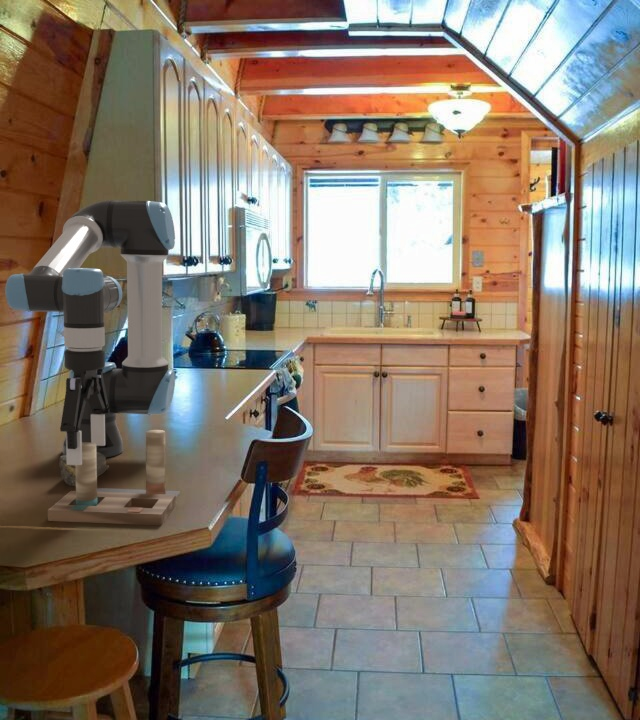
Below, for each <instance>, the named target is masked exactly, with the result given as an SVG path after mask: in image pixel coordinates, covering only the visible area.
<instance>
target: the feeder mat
mask: <svg viewBox="0 0 640 720" xmlns="http://www.w3.org/2000/svg"><path fill="white" fill-rule="evenodd" d="M97 492H115V493H141V494H146V489H137V488H133V489H131V488H111V487H110V488H108V487H107V488H106V487H105V488H104V487H97ZM181 492H182V491H181V490H165V494H168V495H176V498H177V497H178V496H179V495H180V493H181Z"/></svg>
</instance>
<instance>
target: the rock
mask: <svg viewBox="0 0 640 720" xmlns="http://www.w3.org/2000/svg"><path fill="white" fill-rule="evenodd" d="M96 456H97V478H98V477H99V476H101V475H103V474H104V473H105V472H106V471H107V470H108V469H109V467H110V466H109V464H107V457H106V458H105V456H104V455H103V454H101V453H99V452H96ZM58 460H59V468H60V476H61V478H62V479H63V481H64V483H65V484H66V485H68V486H71V487H75V488H76V467H75V465H67V456H66V455H61V456H59V459H58Z"/></svg>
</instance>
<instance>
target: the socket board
mask: <svg viewBox="0 0 640 720" xmlns="http://www.w3.org/2000/svg"><path fill="white" fill-rule="evenodd" d="M176 505H177V497H176V495H168V494H141V493H115V492H97V506H86V505H76V490H70V491H68V493H66V494H65V495H64V496H62V497H61V498H60V499H59V500H58V501H57V502H55V504H53V505H51V507H49V508H48V509H47V521H49V522H67V523H68V522H70V523H94V524H97V523H98V524H119V525H120V524H121V525H123V524H124V525H142V526H143V525H146V526H148V525H149V526H162V525H163V524H164V523H165V521H166V520H167V518H168V517H169V515H170V514H171V512H172V511H173V510H174V509H175V507H176Z"/></svg>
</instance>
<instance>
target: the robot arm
mask: <svg viewBox="0 0 640 720" xmlns="http://www.w3.org/2000/svg"><path fill="white" fill-rule="evenodd" d="M175 232H176V231H175V225H174V220H173V216H172V212H171V209H170V208H169V206H168V205H167V204H166V203H164V202H160V201H152V200H151V201H150V200H113V199H111V200H109V199H108V200H106V199H105V200H101V201H98V202H97V201H96V202H94V203H93V202H92V203H91V204H89V205H87V206H84V207H82V208H81V209H79V210H78V211H76V212H75V213H73V214H72V215H71V216H70V217H69V218H68V219H67V220H66V222H65V223H64V224H63V227H62V234H61V235H60V236H59V237H58V238H57V239H56V241H55V242H54V243H53V244H52V245H51V247H50V248H49V249H48V250H47V252H46V253H45V254H44V255H43V256H42V257H41V258H40V260H39V261H38V262H37V263H36V264H35V265H34V267H33V268H32V270H30V272H29V273H27V274H26V273H19V274H18V273H16V274H15V273H14V274H11V275H10V276H8V278H7V280H6V284H5V292H4V293H5V299H6V302H7V304H8V306H9V308H10V309H12V310H15V311H24V312H28V313H30V312H42V313H43V312H46V313H47V312H48V313H49V312H51V313H53V312H54V313H63V330H62V331H61V335H62V336H63V337H64V338H63V339H64V340H63V341H64V343H63V344H64V347H65V348H66V349H65V350H64V353H63V355H64V356H63V357H64V368H65V369H66V370H67V371H69V372H68V378H66V380H65V381H66V382H65V395H64V401H63V409H62V415H61V421H60V428H59V431H60V432H62V433H63V432H65V437H64V440H63V443H62V454H63V455H62V456H64V455H66V456H67V465H82V443H84V442H91V443H96V452H99V453H101V454H103V455H104V456H105V458H106V459H107V458H110V457H114V456H118V455H121V453H123V452H124V443H123V442H124V441H123V439H122V435H121V433H120V429H119V427H118V425H117V414H121V415H124V414H125V415H127V414H129V415H148V416H151V415H163V414H166V413H167V412H168V411H169V410H170V407H171V404H172V401H173V398H174V393H175V386H176V372H175V371H174V370H173V369H171V368H170V369H169V361H168V360H167V359H166V358H165V357H163V262H164V261H165V260H166V259H167V258H168V257H169V250H173V249H174V248H175V244H176V243H175V242H176V241H175V239H176V233H175ZM100 248H115V249H116V248H119V249H120V257H122V258H123V259H124V260H125V261H126V284H127V285H126V287H127V288H126V289H127V290H126V292H127V294H126V295H127V301H126V302H127V306H126V307H127V357H125V359H124V360H123V361H122V362H121V368H117V365H116V363H115V362H111V361H107V362H106V354H105V353H106V352H105V350H104V348H103V347H104V346H105V345H106V337H105V336H106V335H105V333H106V332H105V329H106V328H105V314H106V313H109V312H112V311H113V310H114V309H116V308H117V307H118V306H119V305H120V304H121V302H122V299H123V295H124V293H123V290H122V289H123V288H122V286H121V284H120V282H118V280H116V279H115V278H114V277H112V276H109V275H105V274H104V273H103V271H102V269H99V268H95V267H90V268H89V267H81V266H82V265H83V263H84V262H85V261H86V260H87V258H88V257H89V255H90V254H92V253H94V252H97V251H98V250H99V249H100Z"/></svg>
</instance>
